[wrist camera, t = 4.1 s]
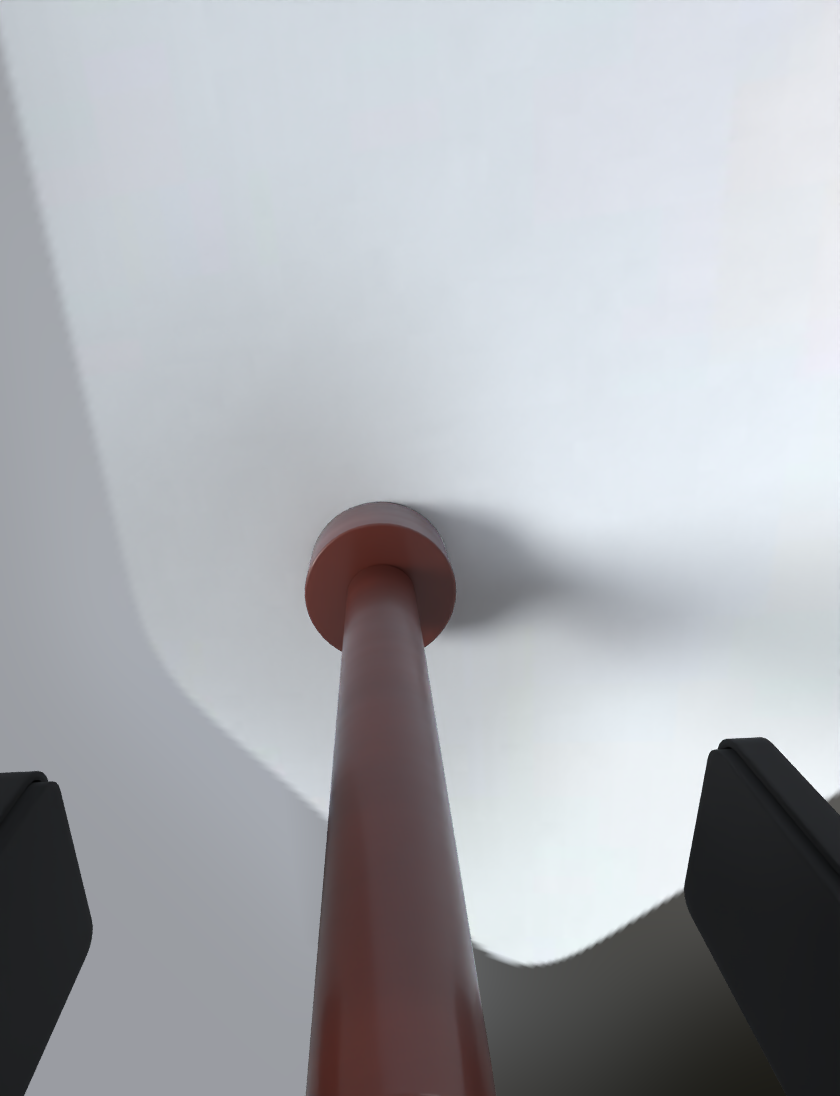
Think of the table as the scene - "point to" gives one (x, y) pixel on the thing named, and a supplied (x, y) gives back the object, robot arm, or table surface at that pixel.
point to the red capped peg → (390, 827)
